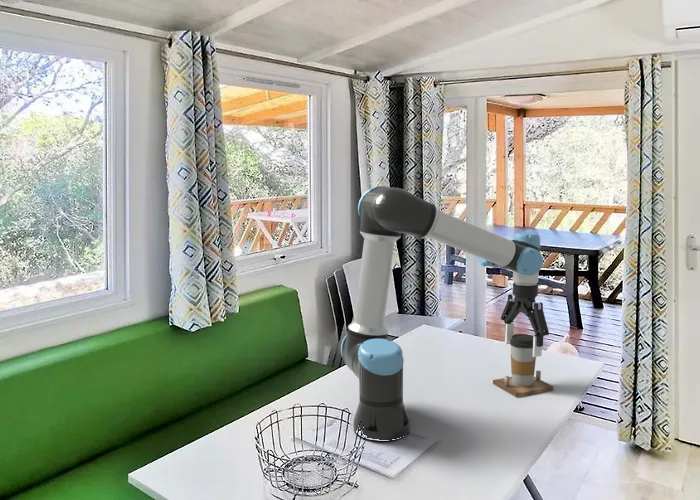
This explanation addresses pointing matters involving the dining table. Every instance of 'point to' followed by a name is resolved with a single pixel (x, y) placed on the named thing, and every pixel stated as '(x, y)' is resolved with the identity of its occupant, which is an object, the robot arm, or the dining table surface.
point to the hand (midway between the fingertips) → (522, 349)
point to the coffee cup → (522, 359)
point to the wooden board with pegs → (520, 391)
